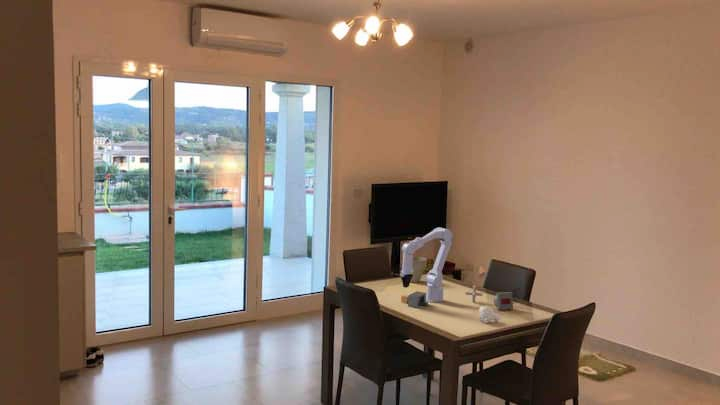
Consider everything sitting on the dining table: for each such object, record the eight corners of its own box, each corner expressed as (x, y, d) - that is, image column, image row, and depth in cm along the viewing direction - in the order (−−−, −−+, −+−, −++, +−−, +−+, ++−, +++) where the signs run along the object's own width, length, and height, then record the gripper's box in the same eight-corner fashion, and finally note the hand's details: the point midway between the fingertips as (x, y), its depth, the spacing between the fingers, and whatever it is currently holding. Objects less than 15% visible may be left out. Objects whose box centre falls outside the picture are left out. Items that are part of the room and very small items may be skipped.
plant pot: (427, 281, 418) (428, 258, 416) (420, 285, 404) (421, 261, 403) (406, 278, 424) (408, 255, 423) (399, 281, 410) (400, 258, 409)
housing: (425, 303, 356) (426, 292, 356) (417, 307, 346) (418, 296, 345) (416, 301, 359) (416, 291, 359) (407, 306, 349) (408, 295, 348)
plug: (428, 306, 352) (428, 299, 351) (425, 307, 348) (425, 300, 348) (404, 301, 360) (404, 294, 360) (401, 302, 357) (401, 295, 357)
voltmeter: (508, 313, 346) (509, 295, 345) (489, 309, 352) (490, 292, 351) (523, 304, 368) (524, 288, 367) (504, 300, 374) (506, 284, 373)
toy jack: (482, 305, 360) (483, 288, 359) (464, 303, 362) (466, 286, 361) (482, 300, 370) (483, 284, 369) (465, 299, 372) (466, 283, 371)
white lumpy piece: (478, 304, 326) (498, 306, 329) (475, 320, 326) (496, 321, 329) (483, 307, 320) (504, 309, 323) (480, 323, 320) (501, 325, 323)
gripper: (406, 261, 362) (404, 283, 363) (395, 264, 349) (394, 288, 351) (417, 263, 359) (415, 285, 360) (407, 266, 346) (405, 290, 347)
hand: (406, 287), depth 355 cm, fingers closed
